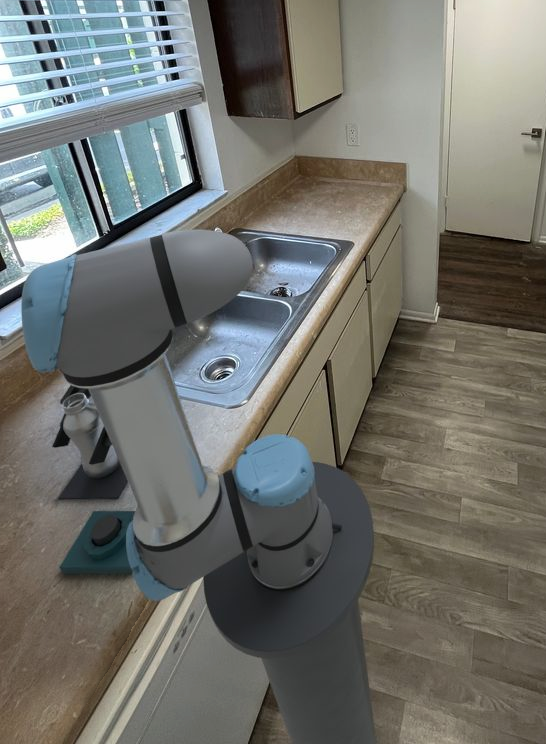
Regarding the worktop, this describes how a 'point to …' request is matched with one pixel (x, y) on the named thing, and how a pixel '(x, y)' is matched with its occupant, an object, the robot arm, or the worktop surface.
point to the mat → (95, 485)
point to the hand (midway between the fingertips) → (77, 454)
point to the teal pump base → (99, 549)
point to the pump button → (105, 530)
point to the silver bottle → (87, 434)
